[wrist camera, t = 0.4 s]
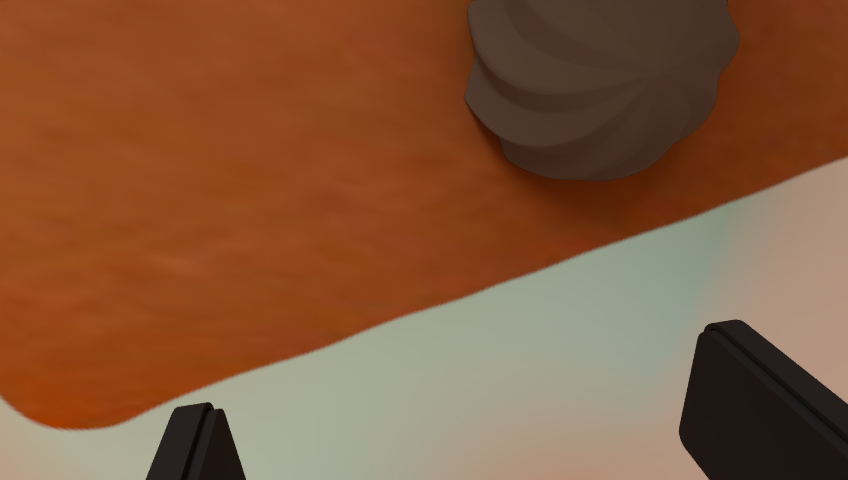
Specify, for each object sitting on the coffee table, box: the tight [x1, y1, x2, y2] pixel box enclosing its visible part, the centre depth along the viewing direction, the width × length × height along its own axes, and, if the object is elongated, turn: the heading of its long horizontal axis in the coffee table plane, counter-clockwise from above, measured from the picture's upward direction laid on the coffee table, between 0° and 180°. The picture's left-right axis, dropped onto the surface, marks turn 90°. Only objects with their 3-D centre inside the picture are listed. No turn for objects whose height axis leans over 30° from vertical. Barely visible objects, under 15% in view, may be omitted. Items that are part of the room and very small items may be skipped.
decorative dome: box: [464, 0, 739, 181], centre depth 33 cm, size 19×20×10 cm
